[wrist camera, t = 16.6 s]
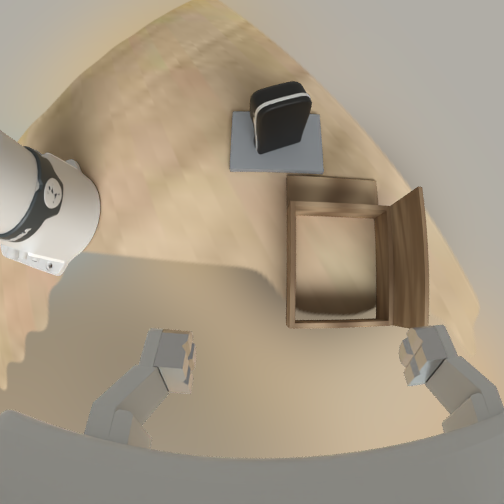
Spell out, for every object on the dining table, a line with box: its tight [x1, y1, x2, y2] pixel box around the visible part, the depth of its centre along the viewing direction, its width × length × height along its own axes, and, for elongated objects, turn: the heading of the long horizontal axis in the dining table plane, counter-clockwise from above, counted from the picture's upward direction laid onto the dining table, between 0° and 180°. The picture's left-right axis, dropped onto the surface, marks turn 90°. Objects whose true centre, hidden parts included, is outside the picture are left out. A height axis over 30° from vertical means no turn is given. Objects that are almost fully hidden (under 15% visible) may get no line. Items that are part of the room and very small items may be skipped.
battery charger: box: [250, 81, 312, 154], centre depth 37 cm, size 7×4×11 cm, turn 111°
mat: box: [230, 112, 324, 174], centre depth 43 cm, size 13×10×1 cm
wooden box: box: [286, 175, 429, 329], centre depth 35 cm, size 14×20×12 cm
